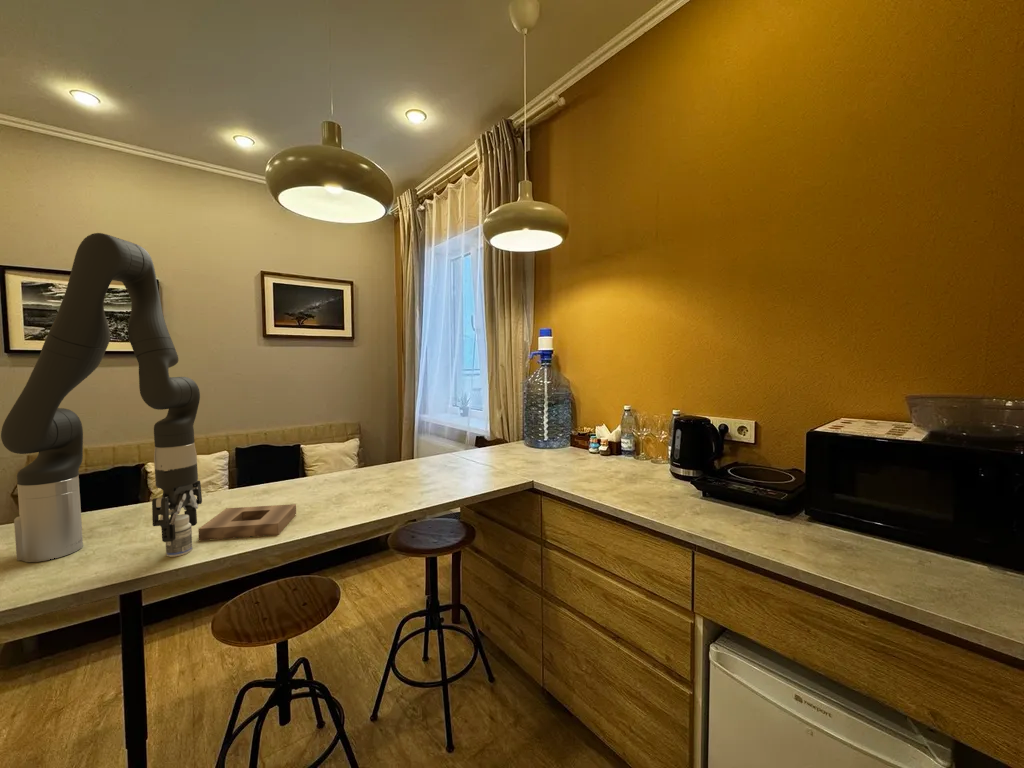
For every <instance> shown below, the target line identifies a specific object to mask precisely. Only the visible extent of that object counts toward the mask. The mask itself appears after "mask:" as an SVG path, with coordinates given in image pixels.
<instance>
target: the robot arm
mask: <svg viewBox="0 0 1024 768" xmlns="http://www.w3.org/2000/svg"><path fill="white" fill-rule="evenodd" d="M155 270H156V269H155V265H154V262H153V259H152V257H151V254H150V253H149V252H148V251H147V250H146V248H144V247H143V246H141V245H139V244H137V243H134V242H131V241H129V240H125V239H122V238H119V237H117V236H114V235H111V234H107V233H102V232H96V233H95V232H94V233H91V234H88V235H87V236H86V237H85V238H83V240H81V242H80V244H79V246H78V248H77V249H76V253H75V255H74V259H73V262H72V267H71V271H70V276H69V279H68V281H67V286H66V289H65V292H64V295H63V298H62V300H61V302H60V305H59V308H58V311H57V313H56V315H55V319H54V321H53V323H52V325H51V326H50V329H49V331H48V333H47V336H46V338H45V340H44V343H43V345H42V348H41V351H40V354H39V357H38V358H37V361H36V363H35V365H34V367H33V370H32V372H31V373H30V376H29V378H28V380H27V382H26V384H25V385H24V388H23V389H22V391H21V393H20V395H19V396H18V398H17V400H16V401H15V402H14V404H13V406H12V407H11V409H10V411H9V413H8V414H7V416H6V417H5V419H4V422H3V423H2V426H1V431H0V438H1V443H2V445H3V447H4V448H6V449H7V450H8V451H9V452H11V453H13V454H17V455H18V454H19V455H26V454H27V455H29V454H36V453H38V454H37V456H36V458H34V460H33V461H31V462H30V463H29V464H27V465H26V466H24V467H23V468H21V469H20V470H19V471H18V472H17V473H16V483H17V496H18V497H17V501H18V514H19V516H16V517H15V518H14V519H13V524H14V525H13V526H14V540H15V541H14V542H15V551H16V553H15V554H16V561H23V562H24V563H25V562H26V563H38V562H44V561H49V560H50V559H51V560H54V558H55V559H59V558H61V557H64V556H68V555H71V554H74V553H75V552H77V551H79V550H81V549H82V548H83V547H84V542H83V541H84V540H83V525H82V523H83V522H82V509H81V507H82V506H81V505H82V504H81V493H80V478H79V477H80V476H79V475H80V473H79V469H80V467H81V465H82V464H83V457H84V456H83V454H84V450H83V449H84V430H83V428H84V427H83V424H82V421H81V419H80V417H79V416H78V414H77V413H76V412H74V411H73V410H71V409H68V408H63V407H59V406H60V405H61V403H62V401H63V400H64V399H65V397H66V396H67V395H68V394H69V393H70V392H72V391H73V390H74V389H75V388H76V387H77V386H79V385H80V384H81V383H82V382H83V381H85V379H87V378H88V377H89V376H90V375H91V374H93V372H95V371H96V369H97V368H98V367H99V365H100V364H101V362H102V360H103V358H104V356H105V353H106V351H107V348H108V346H109V344H110V341H111V331H110V327H109V322H108V319H107V316H106V313H105V304H104V303H105V298H106V296H107V293H108V289H109V287H110V285H111V283H112V281H117V282H121V283H122V284H123V286H124V288H125V289H126V291H127V293H128V295H129V299H130V302H131V304H130V305H131V306H130V307H131V309H130V314H129V319H128V324H127V336H128V340H129V343H130V346H131V348H132V350H133V353H134V355H135V359H136V360H137V363H138V384H139V385H138V388H139V393H140V396H141V398H142V400H143V402H144V403H145V404H146V405H147V406H148V407H149V408H152V409H154V410H158V411H159V410H160V411H161V410H163V411H164V410H168V411H167V413H166V416H165V417H163V418H162V419H160V420H158V421H157V422H155V423H154V425H153V440H154V443H153V444H154V451H153V452H154V453H153V464H154V480H155V487H156V488H157V489H161V490H162V496H161V497H157V498H155V497H154V498H153V499H152V500H151V514H152V515H151V516H152V519H151V520H152V526H153V527H158V526H159V527H160V529H161V541H162V542H163V543H166V542H171V541H173V540H175V538H176V537H175V524H174V521H175V518H176V515H180V513H181V510H182V509H183V510H184V513H183V514H187V515H189V523H191V526H192V527H193V526H196V525H197V524H198V514H197V510H198V509H199V505H202V502H203V498H202V497H203V496H202V494H203V493H202V486H201V485H202V484H201V480H199V474H198V473H199V471H198V454H197V449H196V443H195V431H194V429H195V428H194V424H195V422H196V421H195V420H196V419H197V413H198V409H199V404H200V400H201V391H200V388H199V386H198V384H197V383H196V381H194V380H193V379H192V378H191V377H188V376H170V375H169V374H170V373H169V368H172V367H174V366H176V365H177V364H178V363H179V355H178V353H177V350H176V347H175V345H174V342H173V339H172V338H171V337H172V336H171V334H170V332H169V330H168V327H167V324H166V320H165V317H164V313H163V308H162V303H161V298H160V291H159V288H158V287H159V285H158V280H157V276H156V275H157V274H156V271H155ZM169 517H170V519H169Z"/></svg>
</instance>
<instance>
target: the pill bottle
mask: <svg viewBox="0 0 1024 768" xmlns="http://www.w3.org/2000/svg"><path fill="white" fill-rule="evenodd" d="M169 519H170V516H169ZM174 524H175V537H176V538H175V540H173V541H171V542H165V553H166V554H165V555H166V557H169V558H170V557H171V558H176V557H180V556H183V555H186V554H189V553H190V552H192V550H193V536H192V535H193V530H192V529H193V528H192V527H193V526H191V523H189V515H187V514H184V513H183V514H180V513H179V514H178V515H176V518H175V521H174Z"/></svg>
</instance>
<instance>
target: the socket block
mask: <svg viewBox="0 0 1024 768" xmlns="http://www.w3.org/2000/svg"><path fill="white" fill-rule="evenodd" d="M295 514H296V515H297V504H295V503H294V504H291V503H290V504H278V505H277V504H274V505H262V506H261V505H260V506H259V505H258V506H244V507H243V506H242V507H226V508H225V509H223V510H222V511H220V512H219V513H218V514H216V515H215V516H214V517H213V518H211V519H209V521H207V522H205V523H204V524H203V525H201V527H199V528H198V541H199V540H201V541H211V540H210V539H215V540H224V539H223V538H228V539H237V538H236V537H242V538H251V537H250V536H256V537H264V536H263V535H269V536H279V535H280V534H281V532H282V531H283V530H284V529H286V527H287V525H288V524H289V523H290V522H291V521H292V520H293V519H294V518H295V516H296V515H295ZM292 518H293V519H292ZM291 519H292V520H291Z"/></svg>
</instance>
